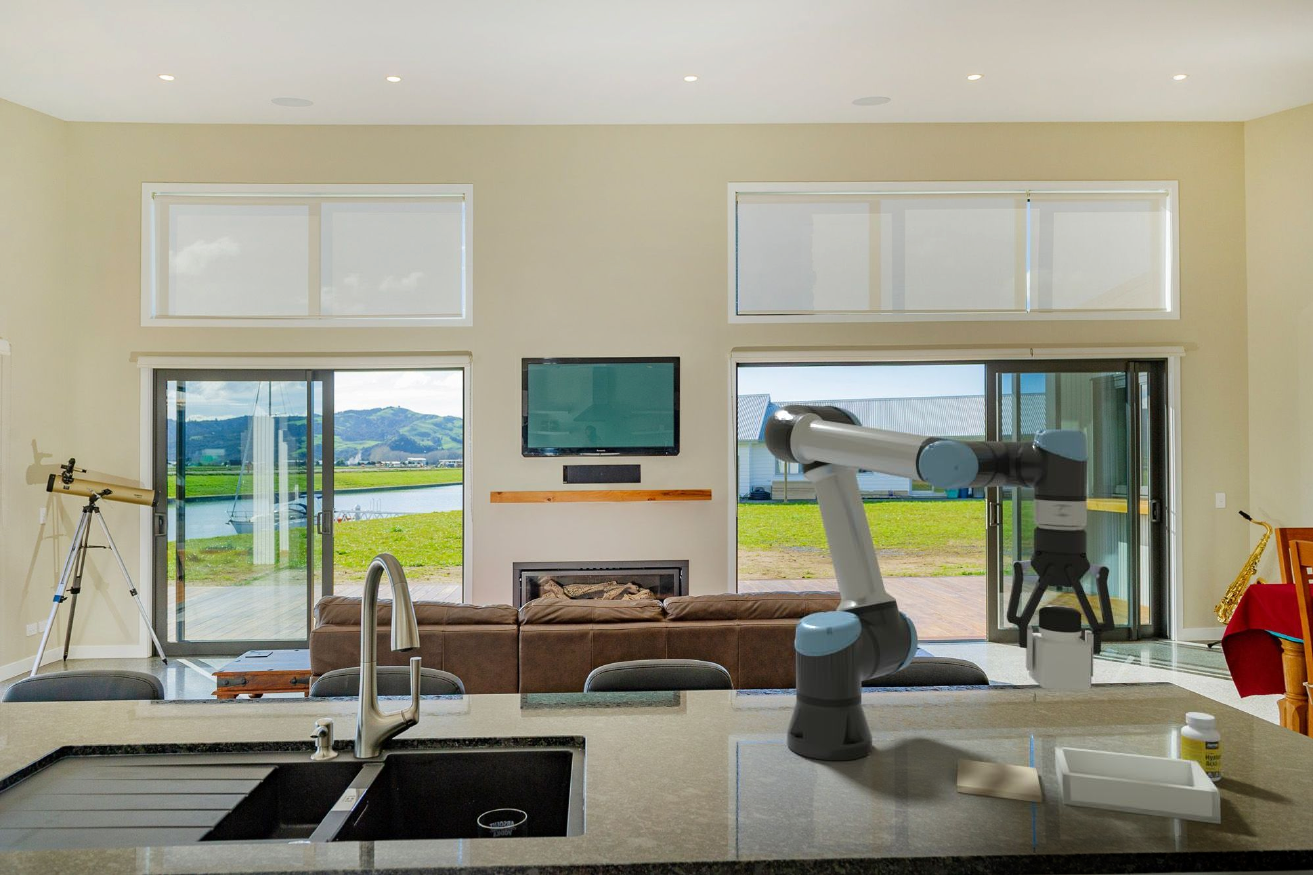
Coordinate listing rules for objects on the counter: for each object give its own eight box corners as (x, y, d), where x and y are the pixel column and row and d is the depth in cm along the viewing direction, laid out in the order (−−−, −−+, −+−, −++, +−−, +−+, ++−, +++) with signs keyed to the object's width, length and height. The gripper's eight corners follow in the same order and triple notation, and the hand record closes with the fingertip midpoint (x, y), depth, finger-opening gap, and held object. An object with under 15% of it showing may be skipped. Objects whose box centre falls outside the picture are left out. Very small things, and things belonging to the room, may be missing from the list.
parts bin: (1063, 803, 124) (1062, 774, 124) (1055, 773, 136) (1054, 746, 136) (1220, 823, 117) (1219, 792, 117) (1197, 789, 129) (1196, 760, 129)
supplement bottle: (1209, 785, 130) (1207, 722, 131) (1174, 773, 135) (1172, 713, 135) (1228, 778, 133) (1227, 717, 133) (1193, 767, 138) (1192, 708, 138)
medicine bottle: (1092, 691, 126) (1092, 613, 126) (1043, 689, 127) (1043, 611, 127) (1074, 678, 133) (1075, 604, 133) (1028, 676, 134) (1028, 602, 134)
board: (957, 791, 129) (957, 785, 129) (958, 765, 140) (958, 759, 140) (1041, 802, 124) (1041, 795, 124) (1036, 774, 136) (1036, 767, 136)
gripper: (990, 526, 130) (989, 670, 130) (1139, 532, 123) (1138, 684, 123) (988, 522, 137) (986, 658, 137) (1129, 527, 130) (1128, 671, 130)
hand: (1058, 671), depth 130 cm, fingers closed on medicine bottle, 8 cm apart
